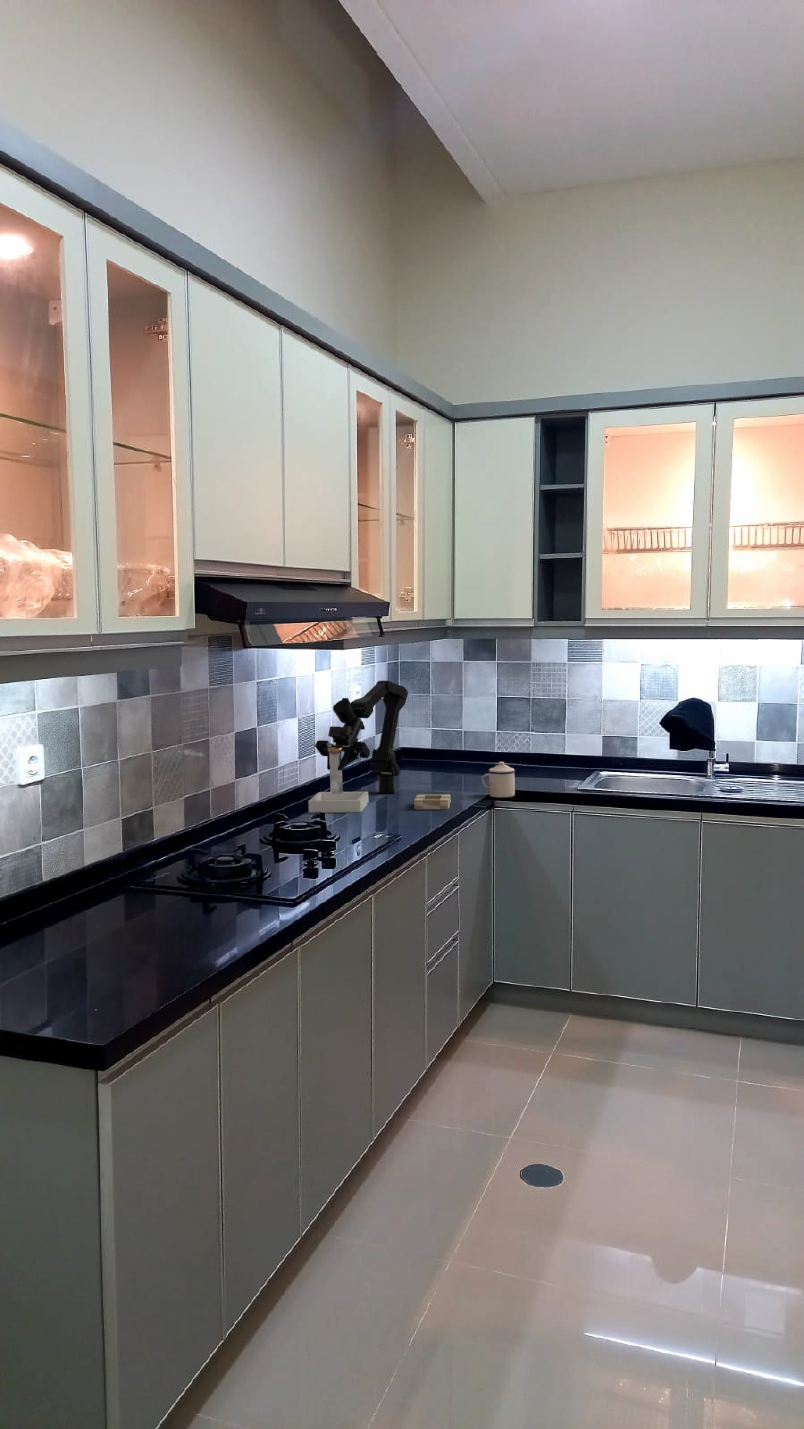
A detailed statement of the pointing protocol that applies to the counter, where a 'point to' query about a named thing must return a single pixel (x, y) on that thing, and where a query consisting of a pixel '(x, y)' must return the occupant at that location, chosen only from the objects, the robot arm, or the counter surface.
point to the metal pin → (335, 770)
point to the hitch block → (432, 801)
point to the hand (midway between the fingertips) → (333, 769)
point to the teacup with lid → (500, 781)
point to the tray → (338, 802)
